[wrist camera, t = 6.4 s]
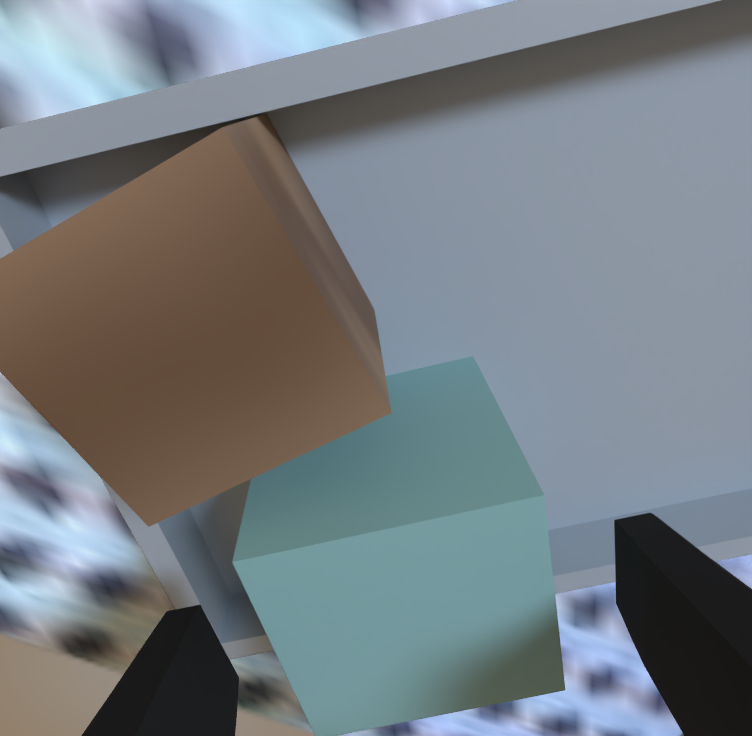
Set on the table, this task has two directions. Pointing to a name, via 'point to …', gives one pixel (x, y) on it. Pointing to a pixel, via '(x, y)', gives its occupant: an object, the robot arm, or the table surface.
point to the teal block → (406, 562)
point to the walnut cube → (194, 325)
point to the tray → (496, 249)
